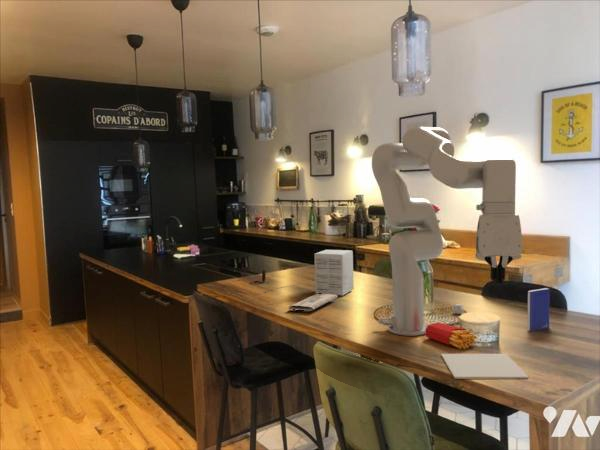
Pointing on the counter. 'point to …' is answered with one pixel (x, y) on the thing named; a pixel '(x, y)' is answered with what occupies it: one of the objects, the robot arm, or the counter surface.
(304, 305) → the newspaper
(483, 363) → the mat
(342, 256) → the supplement box
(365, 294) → the counter surface
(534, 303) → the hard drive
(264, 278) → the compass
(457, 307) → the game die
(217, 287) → the counter surface
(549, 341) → the counter surface
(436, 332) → the french fries
